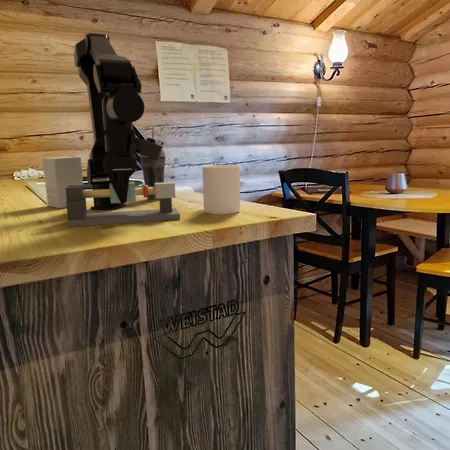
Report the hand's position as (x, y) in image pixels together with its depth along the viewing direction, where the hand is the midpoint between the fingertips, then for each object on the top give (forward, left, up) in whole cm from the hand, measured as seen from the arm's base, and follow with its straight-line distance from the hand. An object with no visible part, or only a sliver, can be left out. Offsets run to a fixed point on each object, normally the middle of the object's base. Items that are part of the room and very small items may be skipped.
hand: (123, 201), depth 88 cm
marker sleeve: (0, 0, 0) cm, 0 cm away
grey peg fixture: (0, 0, -4) cm, 4 cm away
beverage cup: (-8, +30, -4) cm, 31 cm away
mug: (+16, +14, -4) cm, 22 cm away
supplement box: (-27, +16, -4) cm, 32 cm away
